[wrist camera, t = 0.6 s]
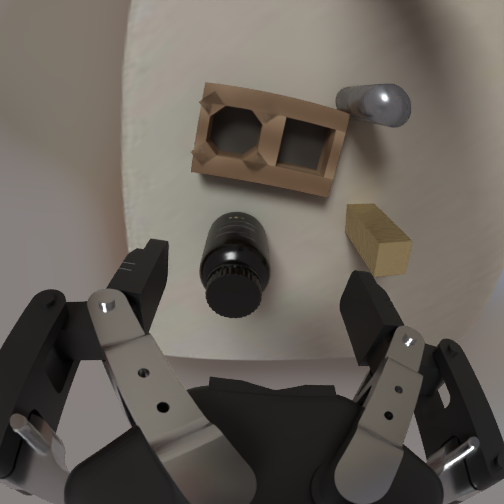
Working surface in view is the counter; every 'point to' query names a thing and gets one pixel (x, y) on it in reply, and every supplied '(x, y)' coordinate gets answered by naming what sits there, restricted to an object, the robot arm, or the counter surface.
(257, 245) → the supplement bottle
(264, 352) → the counter surface
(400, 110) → the cylinder
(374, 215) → the square bit
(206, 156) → the bore block
